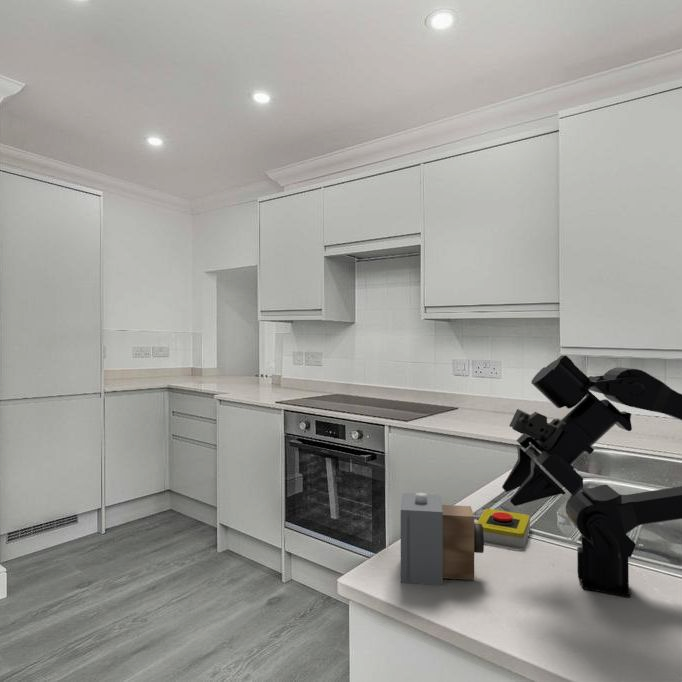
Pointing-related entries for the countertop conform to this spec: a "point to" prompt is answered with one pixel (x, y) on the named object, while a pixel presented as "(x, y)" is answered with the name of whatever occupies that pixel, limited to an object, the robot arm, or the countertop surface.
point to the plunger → (460, 542)
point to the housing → (421, 539)
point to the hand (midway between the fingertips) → (508, 496)
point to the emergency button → (505, 529)
